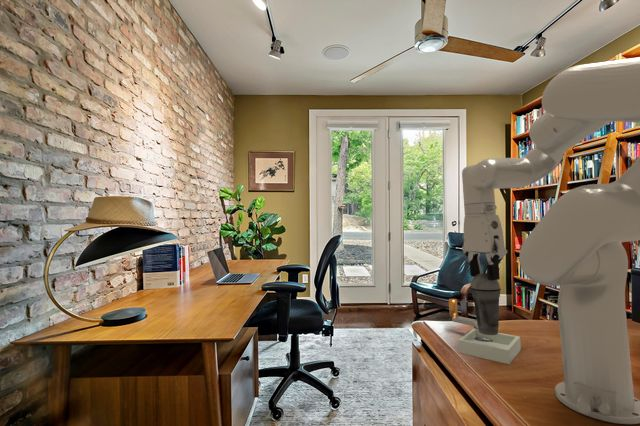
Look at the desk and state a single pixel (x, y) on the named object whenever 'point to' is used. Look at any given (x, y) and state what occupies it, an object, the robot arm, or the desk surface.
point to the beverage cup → (486, 302)
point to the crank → (458, 319)
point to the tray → (490, 346)
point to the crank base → (482, 339)
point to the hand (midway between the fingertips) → (484, 277)
